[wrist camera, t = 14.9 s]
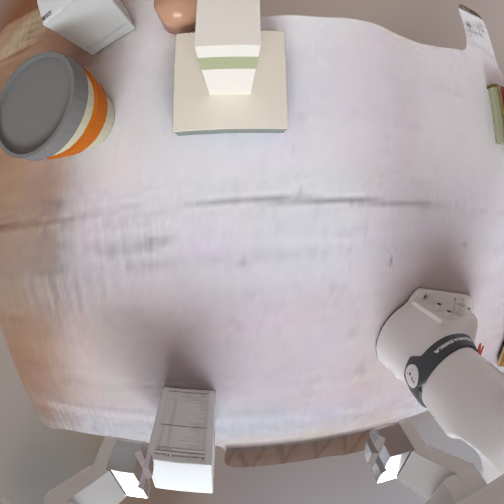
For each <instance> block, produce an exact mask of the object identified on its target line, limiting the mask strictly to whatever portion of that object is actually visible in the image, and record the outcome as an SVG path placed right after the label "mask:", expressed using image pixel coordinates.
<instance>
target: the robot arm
mask: <svg viewBox="0 0 504 504" xmlns="http://www.w3.org/2000/svg"><path fill="white" fill-rule="evenodd" d="M424 295H425V297H424ZM477 329H478V321H477V318H476V316H475V315H474V314H473V313H472V299H471V297H470V296H469V295H467V294H461V293H453V292H446V291H439V290H432V289H425V288H418V289H417V290H415V291H414V293H413V294H412V295H411V297H410V298H409V300H408V301H407V302H406V303H405V304H404V305H403V306H402V307H401V308H399V309H398V310H397V311H396V312H395V313H393V315H392V316H391V317H390V318H389V319H388V320H387V322H386V323H385V325H384V326H383V328H382V330H381V332H380V334H379V337H378V340H377V346H376V351H377V356H378V359H379V361H380V362H381V363H382V364H383V365H384V366H385V367H387V368H388V369H390V370H391V371H392V372H393V373H394V375H395V376H396V377H397V378H398V379H400V380H402V381H403V382H404V383H405V384H406V385H407V386H408V387H409V389H410V391H411V392H412V394H413V395H414V396H415V398H416V399H417V401H418V402H419V403H420V404H421V405H422V406H423V407H425V408H427V409H428V410H429V411H430V413H431V414H432V415H433V417H434V418H435V419H436V421H437V422H438V423H439V425H440V426H441V428H442V429H443V430H444V432H445V433H446V435H448V436H449V437H451V438H455V439H459V438H460V439H461V440H463V441H464V442H466V443H467V444H469V445H470V446H471V447H472V448H474V449H475V450H476V451H477V452H478V454H479V455H480V458H481V460H482V464H483V466H482V468H481V471H480V473H479V471H478V470H477V468H476V467H475V466H474V464H472V463H470V462H467V461H465V460H463V459H460V458H458V457H455V456H453V455H451V454H449V453H446V452H444V451H442V450H440V449H437V448H435V447H433V446H431V445H428V446H426V444H425V443H424V441H423V440H422V438H421V436H420V435H419V434H418V432H417V430H416V429H415V427H414V426H413V425H412V423H411V421H410V420H408V419H406V420H403V421H399V422H396V423H395V422H394V423H391V424H387V425H383V426H379V427H376V428H373V429H372V430H371V431H370V434H369V435H370V437H371V438H370V439H369V440H368V441H367V442H366V445H365V457H366V460H367V462H368V463H369V464H371V465H372V466H373V468H372V471H371V472H372V474H373V476H374V478H375V481H376V483H380V482H383V481H387V480H391V479H394V478H396V479H397V480H399V481H400V482H401V483H403V484H404V485H406V486H407V487H409V488H410V489H412V490H413V491H415V492H416V493H418V494H419V495H421V496H422V497H424V498H425V499H427V500H428V501H427V502H426V503H425V504H504V373H502V372H501V371H499V370H498V369H497V368H496V367H494V366H493V365H492V364H491V363H490V362H488V361H487V360H486V359H485V358H483V357H482V356H481V354H482V351H483V348H484V346H483V347H482V349H481V343H480V344H479V347H478V350H477V349H476V346H475V344H474V342H475V339H476V335H477ZM480 350H481V351H480ZM147 451H148V446H147V443H146V442H143V441H136V440H130V439H124V438H118V437H112V436H106V437H105V438H104V440H103V443H102V445H101V447H100V450H99V452H98V455H97V457H96V460H95V462H94V465H93V466H88V467H87V468H85V469H84V470H82V471H81V472H79V473H78V474H76V475H74V476H73V477H71V478H70V479H68V480H66V481H65V482H63V483H62V484H60V485H58V486H57V487H55V488H54V489H52V490H50V491H48V492H47V494H46V497H45V499H44V501H43V503H42V504H119V503H120V502H121V501H122V500H123V499H124V498H125V497H126V495H128V496H135V497H141V498H148V494H149V490H150V483H149V481H148V479H149V478H150V477H152V475H153V470H154V462H153V458H152V455H151V454H150V453H149V452H147ZM0 504H11V503H10V502H8V501H6V500H4V499H2V498H0Z"/></svg>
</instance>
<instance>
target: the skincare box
mask: <svg viewBox="0 0 504 504" xmlns="http://www.w3.org/2000/svg"><path fill="white" fill-rule="evenodd" d="M37 2H38V7H39V10H40V14H41V18H42V22H43V25H44V26H46V27H48V28H49V29H51V30H53V31H54V32H56V33H58V34H59V35H61V36H63V37H64V38H66V39H67V40H69V41H71V42H72V43H74V44H75V45H77V46H79V47H80V48H82V49H83V50H85V51H86V52H88V53H89V54H91V55H94V54H95V53H97V52H98V51H100V50H101V49H103V48H104V47H106V46H107V45H109V44H110V43H112V42H114V41H115V40H117V39H118V38H120V37H122V36H123V35H125V34H127V33H128V32H130V31H132V30H134V29H135V25H134V23H133V21H132V19H131V17H130V15H129V13H128V11H127V9H126V7H125V6H124V4H123V3H122V2H121V0H37Z"/></svg>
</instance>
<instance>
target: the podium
mask: <svg viewBox="0 0 504 504" xmlns="http://www.w3.org/2000/svg"><path fill="white" fill-rule="evenodd" d="M197 58H198V56H197V53H196V50H195V32H193V33H183V34H176V46H175V65H174V94H173V132H175V133H176V134H177V135H179V136H180V135H195V134H214V133H283V132H284V131H285V130H287V129H288V113H287V83H286V59H285V40H284V31H261V47H260V52H259V59H258V64H257V69H256V70H255V75H254V80H253V85H252V90H251V94H218V95H210V94H209V91H208V88H207V85H206V82H205V78H204V75H203V72H202V70H201V68H200V65H199V62H198V59H197Z"/></svg>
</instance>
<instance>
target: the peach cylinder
mask: <svg viewBox="0 0 504 504" xmlns="http://www.w3.org/2000/svg"><path fill="white" fill-rule="evenodd" d="M154 8H155V10H156V12H157V14H158V16H159V18H160V20H161V22H162V24H163V26H164V28H165V29H166V31H168V32H169V33H171V34H175V35H176V34H183V33H190V32H192V31H194V30H195V28H196V12H197V0H155V1H154Z"/></svg>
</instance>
